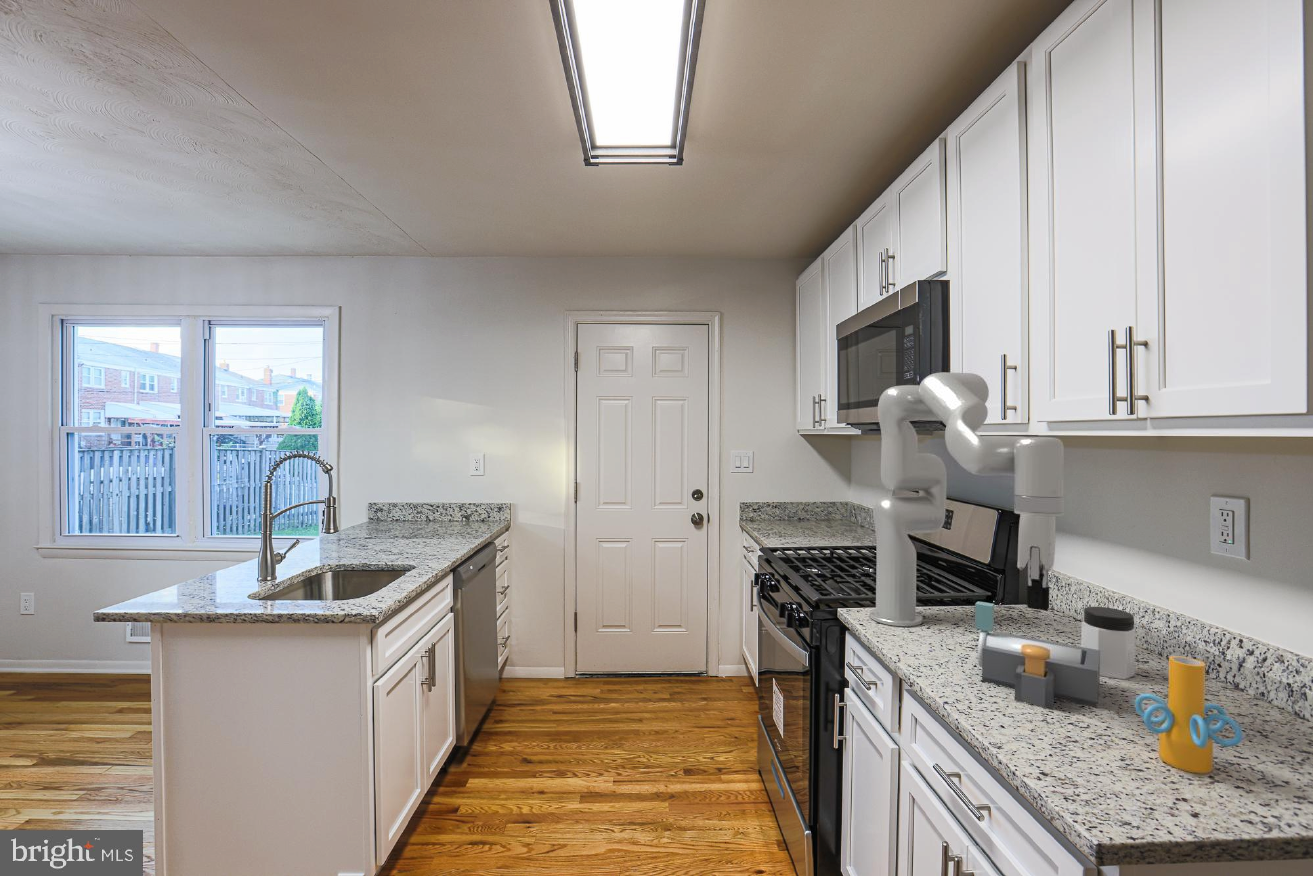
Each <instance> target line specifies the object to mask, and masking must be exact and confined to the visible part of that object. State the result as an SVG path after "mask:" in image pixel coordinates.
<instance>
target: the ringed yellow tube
mask: <svg viewBox="0 0 1313 876" xmlns="http://www.w3.org/2000/svg"><path fill="white" fill-rule="evenodd" d="M1167 696H1168V697H1167V703H1166V702H1165V701H1164V700H1163V699H1162V698H1161V697H1159V696H1157V695H1155V694H1153V693H1143V694H1140V695H1138V696H1137V697H1136V699H1135V700H1134V705H1135V706H1134V707H1135V709H1136V712H1137V714H1138V715H1139V716H1140V717H1141V718H1142V719H1143V722H1144V724H1145V727H1146V728H1147V729H1148V730H1149V731H1150V732H1152V733H1154V734H1158V755H1159V758H1160V760H1162V762H1164V763H1165V764H1167V765H1169V766H1170V767H1174V768H1176V769H1177V770H1182V771H1186V772H1189V773H1194V774H1208V773H1211V772H1212V771H1213V767H1214V766H1213V764H1214V763H1213V762H1214V759H1213V758H1214V743H1216V744H1219V745H1221V746H1225V747H1235V746H1237V745H1239V744H1240V743H1241V742H1242V740H1243V738H1244V737H1243V736H1244V733H1243V730H1242V728H1241V726H1240V724H1239V723H1238V722H1236V721H1235V720H1234V719H1233V718H1231V717H1230V716H1228V715H1227V713H1226V711H1225V710H1224V708H1223V707H1222V706H1221V705H1218V704H1216V703H1206V700H1205V699H1206V698H1205V697H1206V663H1205V662H1203V661H1202V660H1200V659H1197V658H1196V659H1195V658H1192V657H1188V656H1187V657H1186V656H1179V655H1171V656H1169V658H1168V695H1167ZM1145 700H1152V701H1154V702H1156V703H1155V704H1152V705H1150V706H1148V707H1147V709H1146V710H1145V711H1144V709H1143V707H1142V703H1143V701H1145ZM1205 703H1206V704H1205ZM1160 710H1161V711H1162V712H1163V713H1162V715H1161V716H1160V717H1154V716H1153V714H1154V713H1155V712H1156V711H1160ZM1211 710H1215V711H1216V712H1217V713H1210V714H1207V713H1208V712H1209V711H1211ZM1206 714H1207V716H1206ZM1152 716H1153V717H1152ZM1216 720H1218V723H1217V724H1216V725H1214V726H1210V725H1211V723H1212V722H1213V721H1216ZM1227 723H1228V724H1229V725H1230V726H1231V727H1232V728H1233V730H1234V736H1233V738H1232V739H1222V738H1221V737H1218V736H1216V733H1220V732H1221V731H1222V730H1224V728H1225V726H1226V725H1227ZM1153 724H1159V725H1160V724H1161V726H1159V727H1156V726H1154V725H1153Z"/></svg>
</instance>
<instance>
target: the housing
mask: <svg viewBox="0 0 1313 876" xmlns="http://www.w3.org/2000/svg"><path fill="white" fill-rule="evenodd" d="M992 633H993V634H999V635H1004V636H1009V637H1015V638H1020V639H1026V640H1031V641H1036V642H1042V643H1047V644H1053V645H1058V646H1064V647H1069V648H1074V649H1080V650H1082V664H1077V663H1072V662H1067V661H1061V660H1056V659H1051V658H1050V659H1048V660H1045V677H1041V676H1036V675H1032V674H1027V673H1025V656H1024V655H1022V654H1021V652H1016V651H1010V650H1005V649H1000V648H995V647H990V646H985V645H984V647H983V651H982V667H981V682H982V681H985V682H988V683H987V684H989V683H994V684H996V685H995V686H998V685H1002V686H1001V687H1003V686H1005V687H1004V688H1007V687H1010V688H1009V689H1011V688H1013V689H1012V690H1014V701H1015V700H1017V701H1016V702H1018V701H1021V702H1020V703H1023V702H1026V703H1025V704H1027V703H1028V705H1031V704H1033V705H1032V706H1035V705H1036V706H1035V707H1039V706H1042V707H1041V708H1044V709H1048V710H1053V706H1054V703H1053V702H1055V700H1059V701H1060V700H1061V701H1064V700H1065V701H1064V702H1068V701H1069V703H1072V702H1074V703H1073V704H1077V705H1081V704H1082V705H1081V706H1087V707H1091V708H1095V709H1097V707H1098V701H1099V693H1100V684H1101V683H1100V682H1101V681H1100V679H1101V676H1100V650H1095V649H1090V648H1084V647H1081V646H1079V645H1074V644H1067V643H1061V642H1057V641H1056V642H1055V641H1050V640H1046V639H1041V638H1040V639H1039V638H1034V637H1029V636H1022V635H1019V634H1018V635H1017V634H1013V633H1007V632H1001V631H996V630H993V631H992ZM985 682H984V683H985ZM994 684H993V685H994ZM1055 698H1057V699H1055Z"/></svg>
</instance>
